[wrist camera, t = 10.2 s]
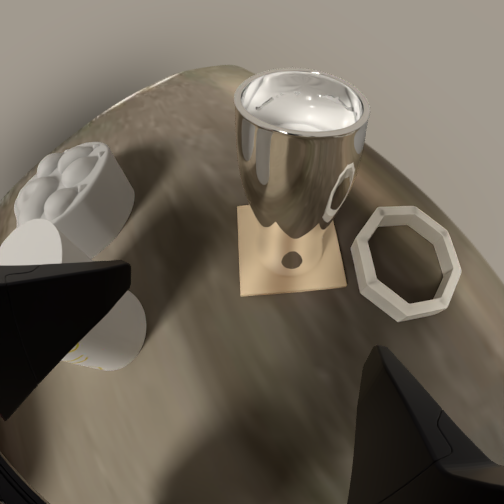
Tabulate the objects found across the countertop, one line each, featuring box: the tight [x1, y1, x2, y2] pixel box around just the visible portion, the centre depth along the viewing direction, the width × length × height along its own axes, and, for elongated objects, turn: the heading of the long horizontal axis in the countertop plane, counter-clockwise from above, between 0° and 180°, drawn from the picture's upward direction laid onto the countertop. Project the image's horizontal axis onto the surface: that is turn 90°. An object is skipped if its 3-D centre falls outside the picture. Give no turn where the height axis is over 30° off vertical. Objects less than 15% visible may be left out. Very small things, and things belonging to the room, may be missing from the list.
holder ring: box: [350, 206, 462, 322], centre depth 23 cm, size 11×11×2 cm
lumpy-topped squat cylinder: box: [14, 142, 135, 259], centre depth 25 cm, size 10×13×9 cm
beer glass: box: [234, 68, 370, 277], centre depth 18 cm, size 7×7×15 cm
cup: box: [0, 219, 146, 371], centre depth 17 cm, size 8×8×12 cm
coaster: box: [237, 205, 347, 297], centre depth 25 cm, size 9×9×1 cm
